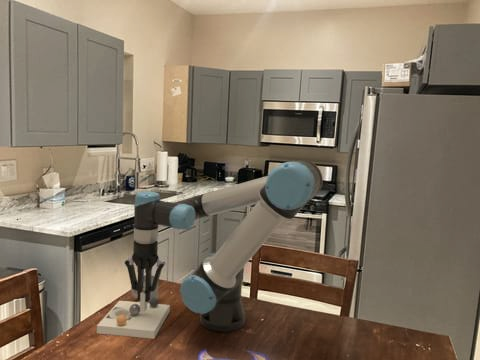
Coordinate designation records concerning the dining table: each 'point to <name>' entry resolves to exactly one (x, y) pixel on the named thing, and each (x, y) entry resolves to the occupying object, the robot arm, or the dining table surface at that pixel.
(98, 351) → the dining table surface
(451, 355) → the dining table surface
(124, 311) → the board
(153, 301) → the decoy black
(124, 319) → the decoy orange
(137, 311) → the ball
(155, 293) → the cup
